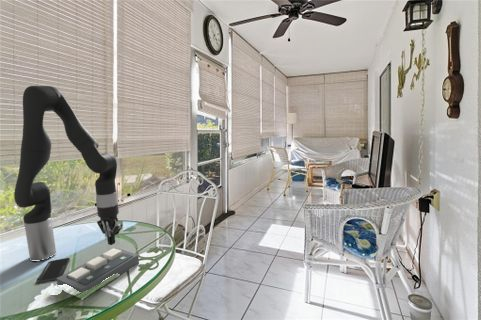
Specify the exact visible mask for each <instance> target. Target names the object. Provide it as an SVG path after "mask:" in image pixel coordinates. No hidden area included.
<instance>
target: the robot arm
mask: <svg viewBox="0 0 481 320" xmlns="http://www.w3.org/2000/svg"><path fill="white" fill-rule="evenodd" d="M45 112H53V113H55V114H56V115H57V116H58V117H59V118H60V119H61V121H62V123H63V126H64V131H65V134H66V137H67V139H68V141H70V144H72V145H73V146H74V147H75V148H76V150H77V151H78V152H79V153H80V155H81V157H82V158H83V160H84V163H85V164H86V166H87V167H88V168H89V170H90V171H92V172H93V173H95V174H99V177H98V178H97V179H95V182H94V186H95V187H94V188H95V194H96V195H95V196H96V197H95V198H96V199H95V201H96V202H95V203H96V211H97V216H98V218H99V219H100V220H97V221H96V224H97V225H98V228H99V229H100V231H101V232H102V234H103V235H104V234H105V237H106V238H107V239H106V240H107V245H109V246H112V245H114V244H115V243H116V235H119V233H120V231H121V230H122V228H123V225H124V224H123V223H120V222H119V218H118V215H119V213H120V210H119V201H118V194H117V188H116V179H117V178H116V176H117V170H118V169H117V168H118V163H117V159H116V157H115V155H113V154H112V153H110V152H104V153H100V151H99V149H98V148H99V145H100V144H99V143H98V141H97V140H96V138H95V137H93V135H92V134H91V133H90V132H89V131H88V130H87V129H86V127H85V126H84V125H83V124H82V122H81V121H80V119H79V118H78V117H77V115H76V113H75V112H74V110H73V108H72V107H71V106H70V104H69V102H68V101H67V100H66V97H65V96H64V94H63V93H62V92H61V91H60V89H58V88H56V87H55V86H52V85H51V86H50V85H30V86H28V87H26V88H25V89H24V91H23V94H22V113H23V114H22V115H23V116H22V122H23V123H22V138H21V145H20V158H19V168H18V175H17V179H16V183H15V188H14V193H13V194H14V195H13V196H14V202H15V204H16V206H17V207H18V208H23V209H25V208H29V207H33V206H34V207H33V208H32V209H31V210H29V211H28V212H27V213H25V214H24V215H23V224H24V225H23V226H24V229H25V230H24V232H25V237H26V243H27V248H28V255H29V260H30V259H31V260H42V259H47V258H48V257H50V256H52V255H54V254H55V253H56V254H57V250H56V249H57V248H56V243H55V235H54V229H53V228H54V227H53V221H52V214H51V213H52V201H51V200H52V199H51V191H50V187H49V186H48V184H47V183H46V182H44V181H36V182H34V181H35V179H36V177H37V176H38V174H39V173H40V172H41V171H42V170H43V168H45V166H46V165H47V163H48V162H49V160H50V158H51V151H52V141H51V139H50V136H49V135H48V134H47V131H46V129H45V127H44V117H45ZM56 254H55V255H56ZM55 255H54V256H55ZM47 260H48V259H47Z"/></svg>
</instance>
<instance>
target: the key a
mask: <svg viewBox="0 0 481 320" xmlns="http://www.w3.org/2000/svg"><path fill="white" fill-rule="evenodd" d="M88 274H90V270H87V269H84V268H82V267H81V268H79V269H77V270H76V271H74V272H72V273H70V274H68V278H70V279H72V280H74V281H77V280H79V279H81V278H83V277H84V276H86V275H88Z"/></svg>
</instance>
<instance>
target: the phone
mask: <svg viewBox="0 0 481 320" xmlns="http://www.w3.org/2000/svg"><path fill="white" fill-rule="evenodd" d="M70 262H71V258H70V257H66V258H60V259H54V260H50V261H48V262H47V264H46V265H45V267H44V269H43V270H42V272H41V273H40V274H39V277H38V278H37V280H36V283H37V284H43V283H48V282H53V281H57V278H58V277H60V276H62V275H64V274H65V273H66V270H67V268H68V266H69V264H70Z"/></svg>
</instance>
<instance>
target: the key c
mask: <svg viewBox="0 0 481 320" xmlns="http://www.w3.org/2000/svg"><path fill="white" fill-rule="evenodd" d="M115 248H116V247H113V248H112V249H110V250H107V251H105V252H104V253H102V254H103V258H105V259H107V260H110V261H112V260H114V259H116V258H118V257H119V256H121V255H122V251H121V250H118V249H119V248H118V249H115Z"/></svg>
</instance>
